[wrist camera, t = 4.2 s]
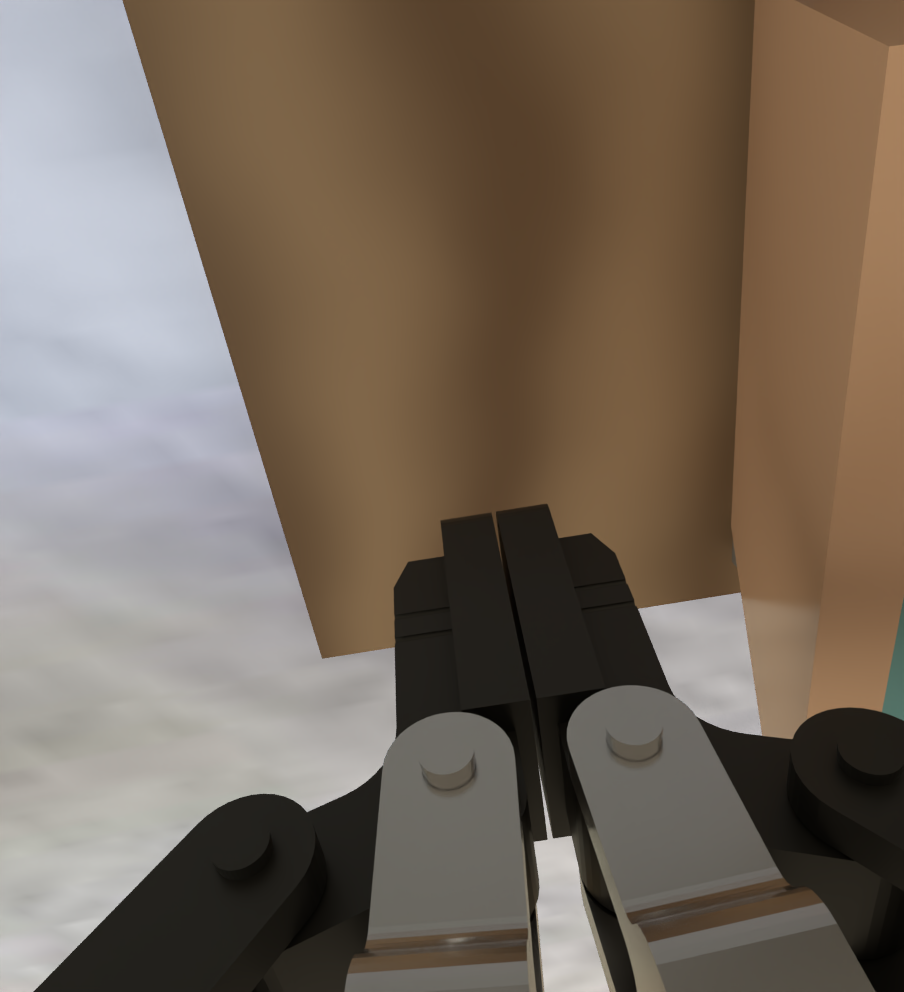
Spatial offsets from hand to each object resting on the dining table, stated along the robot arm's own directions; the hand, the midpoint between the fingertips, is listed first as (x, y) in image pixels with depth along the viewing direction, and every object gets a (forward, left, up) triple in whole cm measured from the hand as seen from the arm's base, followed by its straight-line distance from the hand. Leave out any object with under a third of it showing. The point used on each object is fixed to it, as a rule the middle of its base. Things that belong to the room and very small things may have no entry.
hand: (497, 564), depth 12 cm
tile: (+5, 0, -3) cm, 6 cm away
